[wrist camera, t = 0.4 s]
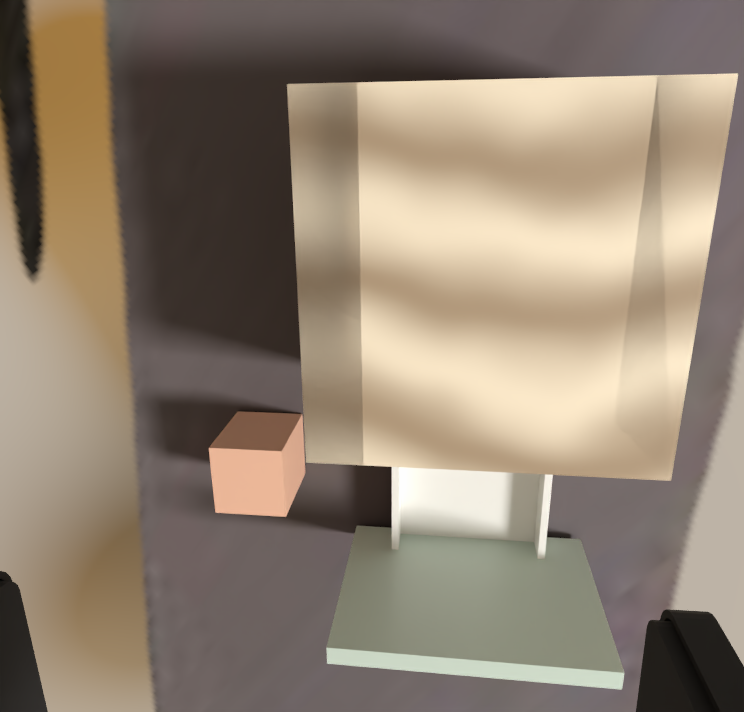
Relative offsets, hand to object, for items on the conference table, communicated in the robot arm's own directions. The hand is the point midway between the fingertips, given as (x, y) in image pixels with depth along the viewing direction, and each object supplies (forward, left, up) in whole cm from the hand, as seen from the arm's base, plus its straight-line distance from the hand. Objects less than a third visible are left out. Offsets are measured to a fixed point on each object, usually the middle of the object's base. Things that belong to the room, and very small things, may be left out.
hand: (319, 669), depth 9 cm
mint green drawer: (+13, +4, -34) cm, 37 cm away
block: (+14, -11, -35) cm, 39 cm away
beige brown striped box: (-1, +4, -34) cm, 35 cm away
